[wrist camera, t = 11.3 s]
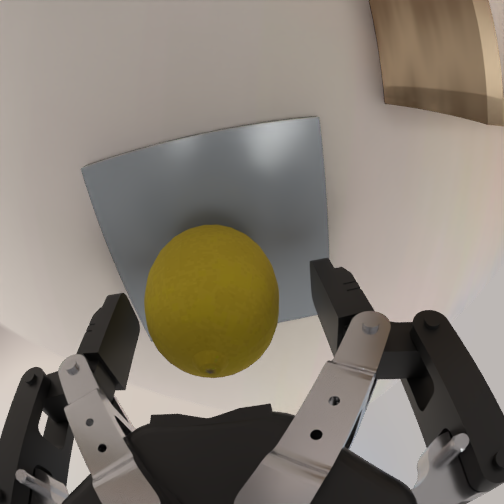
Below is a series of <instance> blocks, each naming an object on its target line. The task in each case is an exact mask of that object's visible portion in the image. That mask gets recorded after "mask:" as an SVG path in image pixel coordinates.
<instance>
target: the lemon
mask: <svg viewBox="0 0 504 504" xmlns="http://www.w3.org/2000/svg"><path fill="white" fill-rule="evenodd" d="M144 307H145V315H146V321H147V327H148V331H149V334H150V336H151V338H152V340H153V342H154V344H155V346H156V347H157V349H158V351H159V352H160V353H161V354H162V355H163V356H164V357H165V358H166V359H167V360H168V361H169V362H170V363H171V364H173V365H174V366H176V367H177V368H179V369H181V370H182V371H185V372H187V373H189V374H192V375H196V376H200V377H209V378H217V377H225V376H229V375H233V374H235V373H237V372H240V371H242V370H244V369H246V368H248V367H249V366H250V365H252V364H253V363H254V362H255V361H257V360H258V359H259V358H260V357H261V356H262V354H263V353H264V352H265V350H266V349H267V348H268V346H269V345H270V343H271V340H272V338H273V335H274V332H275V329H276V327H277V322H278V315H279V288H278V283H277V280H276V277H275V273H274V270H273V267H272V265H271V263H270V261H269V259H268V258H267V256H266V255H265V253H264V252H263V251H262V249H261V248H260V246H259V245H258V244H257V243H256V242H254V241H253V240H252V239H251V238H250V237H248V236H247V235H246V234H244V233H242V232H240V231H238V230H236V229H234V228H231V227H227V226H222V225H201V226H198V227H194V228H190V229H188V230H186V231H184V232H182V233H180V234H179V235H177V236H175V237H174V238H173V239H172V240H171V241H170V242H169V243H168V244H167V245H166V246H165V247H164V248H163V249H162V250H161V251H160V253H159V254H158V256H157V258H156V260H155V261H154V263H153V265H152V267H151V269H150V272H149V275H148V278H147V284H146V290H145V297H144Z"/></svg>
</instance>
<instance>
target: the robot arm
mask: <svg viewBox="0 0 504 504" xmlns="http://www.w3.org/2000/svg"><path fill="white" fill-rule="evenodd" d="M310 280H311V294H312V300H313V303H314V306H315V309H316V311H317V314H318V317H319V319H320V322H321V324H322V327H323V330H324V332H325V335H326V337H327V340H328V343H329V345H330V348H331V351H332V353H333V356H334V358H333V360H332V361H327V362H326V363H325V365H324V367H323V368H322V370H321V372H320V374H319V376H318V378H317V379H316V381H315V383H314V385H313V387H312V388H311V390H310V392H309V394H308V395H307V397H306V399H305V401H304V402H303V404H302V406H301V407H300V409H299V411H298V412H297V414H296V416H295V415H292V414H288V413H282V412H272V408H271V404H265V405H258V406H252V407H245V408H239V409H236V410H233V411H230V412H227V413H224V414H221V415H218V416H215V417H212V418H200V417H194V416H188V415H182V414H164V415H151V420H150V424H147V425H144V426H141V427H139V428H137V429H135V428H134V426H133V425H132V423H131V422H130V420H129V418H128V417H127V415H126V414H125V412H124V410H123V408H122V407H121V405H120V403H119V402H118V400H117V398H116V397H115V396H114V393H115V390H125V389H126V385H127V380H128V376H129V372H130V368H131V364H132V359H133V355H134V351H135V348H136V344H137V340H138V336H139V332H140V326H139V321H138V319H137V317H136V315H135V312H134V310H133V308H132V306H131V304H130V302H129V300H128V298H127V296H126V295H125V294H124V293H120V294H114V295H108V296H107V298H106V300H105V302H104V304H103V306H102V308H100V309H99V310H98V311H97V312H96V313H95V314H94V315H93V317H92V319H91V321H90V326H88V328H87V330H86V331H87V332H86V333H85V335H84V337H83V340H82V342H81V344H80V347H79V349H78V351H77V354H75V355H71V356H69V357H68V358H66V359H65V360H64V361H63V362H62V363H61V365H60V367H59V370H58V371H57V372H54V373H51V374H48V375H46V374H45V373H44V371H43V370H42V369H41V368H39V367H34V368H31V369H29V370H28V371H27V372H26V373H25V374H24V375H23V376H22V378H21V381H20V383H19V386H18V388H17V391H16V393H15V396H14V399H13V401H12V404H11V407H10V410H9V413H8V416H7V419H6V422H5V425H4V428H3V431H2V435H1V438H0V504H466V503H468V502H470V501H472V500H474V499H476V498H478V497H480V496H482V495H484V494H485V493H487V492H489V491H491V490H492V489H494V488H496V487H497V486H499V485H501V484H502V483H504V415H503V413H502V411H501V409H500V407H499V405H498V403H497V401H496V399H495V398H494V395H493V393H492V392H491V390H490V388H489V386H488V384H487V383H486V381H485V379H484V377H483V375H482V374H481V372H480V370H479V369H478V367H477V365H476V363H475V362H474V360H473V358H472V357H471V355H470V354H469V352H468V351H467V349H466V347H465V346H464V344H463V342H462V341H461V339H460V338H459V336H458V335H457V333H456V332H455V330H454V329H453V327H452V326H451V324H450V323H449V321H448V320H447V318H446V317H445V316H444V315H442V314H441V313H439V312H437V311H433V310H425V311H421V312H419V313H418V314H416V316H415V317H414V319H413V322H400V323H398V322H390V321H389V319H388V318H387V317H386V316H385V315H383V314H381V313H379V312H375V311H374V309H373V308H372V306H371V304H370V303H369V301H368V300H367V298H366V296H365V295H364V293H363V291H362V290H361V289H360V287H359V285H358V283H357V282H356V280H355V279H354V277H353V275H352V274H351V273H350V272H349V271H347V270H346V269H344V268H343V267H339V268H334V267H333V265H332V264H331V262H330V260H329V259H328V258H322V259H317V260H312V261H310ZM378 379H401V381H402V384H403V386H404V389H405V391H406V393H407V396H408V399H409V401H410V403H411V406H412V409H413V411H414V414H415V416H416V419H417V422H418V424H419V427H420V430H421V432H422V435H423V438H424V441H425V444H426V447H427V449H426V450H425V451H424V452H423V454H422V455H421V456H420V458H419V460H418V463H417V471H418V478H417V482H416V484H415V486H414V488H413V489H411V490H410V488H409V487H408V486H407V485H405V484H404V483H403V482H401V481H400V480H398V479H396V478H394V477H393V476H391V475H389V474H387V473H385V472H384V471H382V470H381V469H379V468H377V467H376V466H374V465H372V464H371V463H369V462H368V461H366V460H364V459H363V458H361V457H360V456H358V455H356V454H355V453H353V452H351V451H350V450H349V449H350V447H351V445H352V443H353V440H354V438H355V436H356V434H357V432H358V429H359V427H360V424H361V421H362V419H363V416H364V414H365V411H366V409H367V407H368V404H369V402H370V399H371V397H372V394H373V391H374V389H375V386H376V383H377V381H378ZM42 411H44V412H45V413H46V414H47V415H48V420H47V423H46V427H45V431H44V435H43V437H42V435H41V434H40V432H39V429H38V424H39V420H40V417H41V413H42ZM74 437H75V440H76V442H77V444H78V447H79V449H80V452H81V454H82V456H83V458H84V460H85V463H86V465H87V467H88V469H89V471H90V473H91V474H90V475H89V476H88V477H87V478H86V479H85V480H84V481H83V482H82V483H81V484H80V485H79V486H78V487H77V488H76V489H75V490H74V491H73V492H72V493H71V494H70V495H69V494H68V490H67V488H66V483H67V476H68V469H69V462H70V457H71V450H72V445H73V440H74Z"/></svg>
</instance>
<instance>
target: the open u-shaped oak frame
mask: <svg viewBox="0 0 504 504" xmlns="http://www.w3.org/2000/svg"><path fill="white" fill-rule="evenodd" d="M369 3H370V7H371V12H372V17H373V21H374V27H375V32H376V38H377V44H378V50H379V57H380V64H381V71H382V80H383V89H384V99H385V104H392V105H399V106H405V107H412V108H418V109H423V110H429V111H434V112H439V113H443V114H448V115H452V116H457V117H461V118H465V119H469V120H473V121H477V122H480V123H484V124H487V125H497V126H504V99H503V87H502V75H501V65H500V57H499V50H498V43H497V37H496V32H495V27H494V22H493V17H492V13H491V9H490V5H489V1H488V0H369Z"/></svg>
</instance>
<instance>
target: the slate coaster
mask: <svg viewBox="0 0 504 504" xmlns="http://www.w3.org/2000/svg"><path fill="white" fill-rule="evenodd" d="M81 171H82V174H83V177H84V181H85V184H86V187H87V190H88V193H89V196H90V199H91V202H92V205H93V208H94V211H95V214H96V217H97V219H98V222H99V225H100V228H101V230H102V233H103V236H104V238H105V241H106V243H107V246H108V248H109V251H110V253H111V256H112V258H113V261H114V263H115V265H116V268H117V270H118V272H119V275H120V277H121V279H122V282H123V284H124V286H125V288H126V290H127V293H128V295H129V297H130V299H131V301H132V303H133V305H134V308H135V310H136V312H137V314H138V316H139V318H140V320H141V322H142V324H143V326H144V328H145V330H146V332H147V334H148V336H149V337H150V339H151V341H153V340H152V338H151V336H150V334H149V331H148V327H147V321H146V315H145V307H144V297H145V290H146V284H147V278H148V275H149V272H150V269H151V267H152V265H153V263H154V261H155V260H156V258H157V256H158V254H159V253H160V251H161V250H162V249H163V248H164V247H165V246H166V245H167V244H168V243H169V242H170V241H171V240H172V239H173V238H174V237H175V236H177V235H179V234H180V233H182V232H184V231H186V230H188V229H190V228H194V227H198V226H201V225H222V226H227V227H231V228H234V229H236V230H238V231H240V232H242V233H244V234H246V235H247V236H248V237H250V238H251V239H252V240H253V241H254V242H256V243H257V244H258V245H259V246H260V248H261V249H262V251H263V252H264V253H265V255H266V256H267V258H268V259H269V261H270V263H271V265H272V267H273V270H274V273H275V277H276V280H277V283H278V288H279V315H278V322H277V323H279V322H284V321H289V320H294V319H299V318H304V317H309V316H314V315H318V314H317V311H316V309H315V306H314V303H313V300H312V294H311V280H310V261H312V260H317V259H322V258H328V259H329V239H328V216H327V199H326V184H325V171H324V159H323V148H322V138H321V129H320V120H319V117H317V116H313V117H303V118H294V119H285V120H277V121H270V122H263V123H256V124H250V125H244V126H238V127H232V128H227V129H222V130H216V131H211V132H206V133H202V134H197V135H192V136H188V137H184V138H179V139H175V140H171V141H167V142H163V143H159V144H155V145H151V146H148V147H144V148H141V149H137V150H133V151H130V152H127V153H123V154H120V155H117V156H114V157H110V158H107V159H104V160H101V161H98V162H95V163H92V164H89V165H86V166H84V167H83V168H81Z"/></svg>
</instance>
